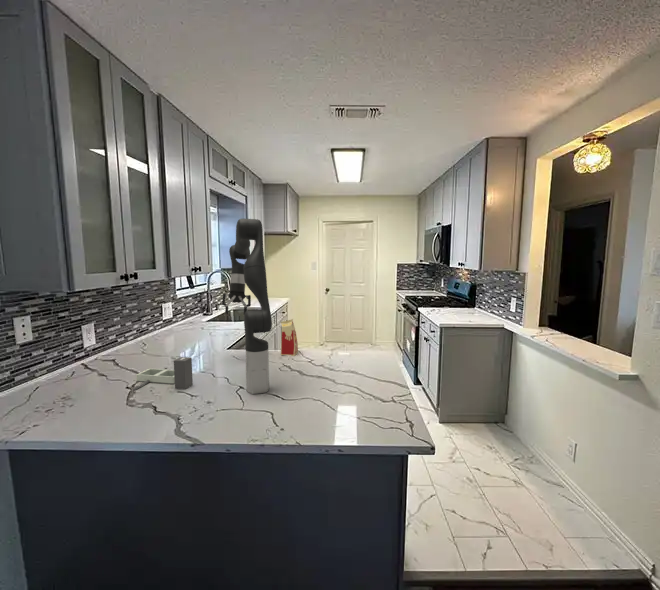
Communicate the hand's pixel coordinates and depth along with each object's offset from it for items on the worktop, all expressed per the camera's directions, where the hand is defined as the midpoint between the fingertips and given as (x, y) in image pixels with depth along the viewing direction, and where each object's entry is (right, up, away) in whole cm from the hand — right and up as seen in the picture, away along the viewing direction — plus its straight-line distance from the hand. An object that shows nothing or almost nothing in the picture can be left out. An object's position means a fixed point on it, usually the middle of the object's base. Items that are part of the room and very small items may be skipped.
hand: (235, 314), depth 175 cm
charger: (-13, -29, -31) cm, 44 cm away
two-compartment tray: (-28, -28, -28) cm, 48 cm away
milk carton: (+25, -24, +17) cm, 38 cm away
